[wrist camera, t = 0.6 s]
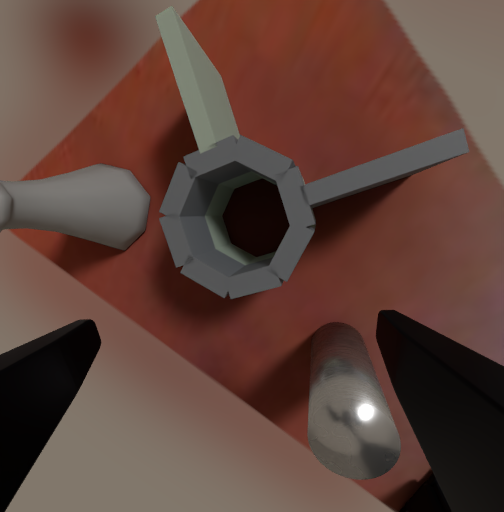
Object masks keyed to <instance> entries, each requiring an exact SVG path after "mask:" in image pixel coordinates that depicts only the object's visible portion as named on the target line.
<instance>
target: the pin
mask: <svg viewBox="0 0 504 512" xmlns="http://www.w3.org/2000/svg"><path fill="white" fill-rule="evenodd" d="M308 441H309V445H310V447H311V450H312V452H313V453H314V455H315V456H316V458H317V459H318V460H319V461H320V462H321V463H322V464H323V465H324V466H325V467H326V468H328V469H329V470H331V471H332V472H334V473H336V474H338V475H341V476H344V477H347V478H351V479H372V478H376V477H378V476H381V475H383V474H385V473H386V472H388V471H389V470H390V469H391V468H392V467H393V466H394V465H395V463H396V462H397V460H398V458H399V455H400V449H401V443H400V437H399V434H398V432H397V429H396V426H395V423H394V421H393V418H392V415H391V413H390V410H389V407H388V405H387V402H386V399H385V396H384V394H383V391H382V388H381V386H380V383H379V380H378V378H377V375H376V372H375V370H374V367H373V364H372V361H371V359H370V356H369V353H368V351H367V348H366V345H365V343H364V340H363V338H362V336H361V334H360V333H359V332H358V331H357V330H356V329H355V328H353V327H352V326H350V325H348V324H345V323H339V322H333V323H328V324H325V325H323V326H322V327H320V328H319V329H318V330H317V331H316V332H315V334H314V335H313V338H312V342H311V365H310V389H309V413H308Z"/></svg>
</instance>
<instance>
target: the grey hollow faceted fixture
mask: <svg viewBox="0 0 504 512" xmlns="http://www.w3.org/2000/svg"><path fill="white" fill-rule="evenodd" d="M214 144H216V145H215V146H217V147H215V146H214V145H213V146H214V148H213V146H212V148H210V150H208V149H207V150H208V151H205V152H204V151H203V153H201V154H200V151H199V150H198V151H195V152H193V153H191V154H188V155H186V156H184V160H185V163H186V165H185V164H182V163H180V162H178V165H177V167H176V170H175V172H174V175H173V177H172V180H171V183H170V185H169V188H168V190H167V193H166V195H165V198H164V201H163V203H162V206H161V208H160V211H159V212H161V213H163V214H164V215H166V216H164V217H162V218H159V220H160V223H161V225H162V228H163V231H164V234H165V237H166V240H167V243H168V246H169V248H170V251H171V254H172V257H173V260H174V263H175V266H176V268H177V267H180V266H183V265H184V266H183V268H182V270H181V273H182V274H183V275H185V276H187V277H188V278H190V279H192V280H194V281H195V282H197V283H199V284H201V285H202V286H204V287H206V288H207V289H209V290H211V291H213V292H214V293H216V294H218V295H220V296H221V297H223V298H225V297H226V296H227V295H228V294H229V295H230V298H231V299H234V298H237V297H241V296H245V295H249V294H253V293H257V292H260V291H264V290H268V289H272V288H276V287H280V286H281V285H282V283H283V281H284V280H285V281H286V282H287V281H288V279H289V277H290V275H291V273H292V272H293V270H294V268H295V266H296V264H297V262H298V261H299V259H300V257H301V255H302V253H303V252H304V250H305V248H306V246H307V244H308V243H309V241H310V239H311V237H312V235H313V234H314V232H315V228H314V227H312V226H310V225H314V224H315V223H316V221H315V218H314V215H313V212H312V208H314V207H317V206H320V205H323V204H326V203H329V202H332V201H335V200H338V199H341V198H344V197H347V196H350V195H353V194H356V193H359V192H362V191H365V190H368V189H371V188H374V187H377V186H380V185H383V184H387V183H390V182H393V181H396V180H399V179H402V178H405V177H408V176H411V175H413V174H416V173H418V172H421V171H423V170H426V169H428V168H431V167H433V166H436V165H438V164H440V163H443V162H445V161H448V160H450V159H453V158H455V157H458V156H460V155H463V154H465V153H467V152H469V149H468V145H467V141H466V137H465V133H464V129H463V128H462V129H460V130H457V131H454V132H451V133H448V134H446V135H443V136H440V137H437V138H434V139H432V140H429V141H426V142H423V143H420V144H418V145H415V146H412V147H409V148H406V149H404V150H401V151H398V152H395V153H392V154H390V155H387V156H384V157H381V158H378V159H376V160H373V161H370V162H367V163H364V164H362V165H359V166H356V167H353V168H350V169H348V170H345V171H342V172H339V173H336V174H334V175H331V176H328V177H325V178H322V179H320V180H317V181H314V182H311V183H308V184H306V185H304V182H303V178H302V175H301V173H300V170H299V168H298V166H297V167H296V166H295V164H294V162H293V160H292V159H290V158H288V157H285V156H283V155H281V154H279V153H277V152H275V151H273V150H271V149H269V148H267V147H265V146H263V145H260V144H258V143H256V142H254V141H252V140H250V139H248V138H246V137H244V136H242V135H240V137H239V140H238V139H237V138H236V137H235V136H234V135H232V136H229V137H227V138H225V139H223V140H220V141H218V142H216V143H214ZM205 148H206V147H205ZM251 171H252V172H254V173H256V174H258V175H260V176H262V177H264V178H266V179H268V180H270V181H272V182H274V183H276V184H277V186H278V189H279V192H280V195H281V199H282V202H283V205H284V208H285V211H286V215H287V218H288V221H289V224H290V227H289V229H288V230H287V232H286V234H285V236H284V238H283V240H282V242H281V244H280V246H279V248H278V249H277V251H276V253H275V255H274V257H272V258H269V259H265V260H262V261H258V262H255V263H252V264H248V265H244V264H242V263H240V262H238V261H236V260H235V259H233V258H231V257H229V256H227V255H226V254H224V253H222V252H220V251H218V250H217V249H215V246H214V243H213V240H212V237H211V234H210V231H209V228H208V225H207V222H206V219H205V214H206V212H207V210H208V207H209V205H210V203H211V201H212V198H213V196H214V194H215V191H216V189H217V187H218V184H220V183H223V182H225V181H228V180H230V179H233V178H235V177H238V176H241V175H243V174H246V173H248V172H251ZM311 207H312V208H311Z"/></svg>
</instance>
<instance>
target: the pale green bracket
mask: <svg viewBox="0 0 504 512" xmlns="http://www.w3.org/2000/svg"><path fill="white" fill-rule="evenodd" d="M155 18H156V21H157V24H158V27H159V30H160V33H161V36H162V39H163V42H164V45H165V48H166V51H167V54H168V57H169V60H170V63H171V66H172V69H173V72H174V75H175V78H176V81H177V85H178V88H179V91H180V94H181V97H182V100H183V103H184V106H185V109H186V112H187V115H188V118H189V121H190V124H191V127H192V130H193V133H194V136H195V139H196V142H197V145H198V148H199V151H200V154H201V153H203V151H204V152H205V151H208V150H210V148H212V146H213V145H214V146H215V145H216V144H214V143H216V142H218V141H220V140H223V139H225V138H227V137H229V136H232V135H234V136H235V137H236V138H237V139H238V140H239V137H240V135H239V132H238V128H237V125H236V122H235V119H234V116H233V113H232V109H231V106H230V103H229V100H228V97H227V94H226V90H225V87H224V84H223V81H222V78H221V76H220V74H219V73H218V71H217V70H216V68H215V67H214V65H213V64H212V63H211V61H210V60H209V58H208V57H207V55H206V54H205V52H204V51H203V50H202V48H201V47H200V45H199V44H198V42H197V41H196V40H195V38H194V37H193V35H192V34H191V32H190V31H189V29H188V28H187V27H186V25H185V24H184V22H183V21H182V19H181V18H180V17H179V15H178V14H177V12H176V11H175V9H174V8H173V7H172V6H171V7H169V8H168V9H166V10H164V11H163V12H161V13H160V14H158V15H156V16H155ZM214 146H213V148H214ZM205 147H206V148H205ZM215 147H217V146H215ZM207 149H208V150H207ZM262 178H263V179H265V180H267V181H269V182H271V183H273V184H275V185H277V184H276V183H274V182H272V181H270V180H268V179H266V178H264V177H262V176H260V175H258V174H256V173H254V172H252V171H251V172H248V173H246V174H243V175H241V176H238V177H235V178H233V179H230V180H228V181H225V182H223V183H220V184H218V187H217V189H216V191H215V194H214V196H213V198H212V201H211V203H210V205H209V207H208V210H207V212H206V214H205V219H206V222H207V225H208V228H209V231H210V234H211V237H212V240H213V243H214V246H215V249H217V250H218V251H220V252H222V253H224V254H226V255H227V256H229V257H231V258H233V259H235V260H236V261H238V262H240V263H242V264H244V265H248V264H252V263H255V262H258V261H262V260H265V259H269V258H272V257H274V255H275V253H276V252H272V253H269V254H266V255H262V256H259V257H255V256H253V255H252V254H250V253H248V252H246V251H244V250H242V249H240V248H239V247H237V246H235V245H233V244H231V241H230V238H229V235H228V232H227V229H226V226H225V223H224V220H223V217H222V215H223V213H224V211H225V209H226V206H227V204H228V202H229V200H230V198H231V195H232V193H233V191H234V189H235V188H238V187H241V186H243V185H246V184H249V183H251V182H254V181H256V180H259V179H262ZM303 182H304V180H303ZM304 185H305V183H304ZM311 208H312V207H311ZM312 212H313V210H312ZM313 215H314V213H313ZM314 218H315V216H314ZM315 221H316V220H315ZM310 226H312V227H314V228H315V225H310Z"/></svg>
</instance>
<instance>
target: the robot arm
mask: <svg viewBox="0 0 504 512" xmlns="http://www.w3.org/2000/svg"><path fill="white" fill-rule="evenodd" d="M376 339H377V343H378V346H379V348H380V351H381V354H382V357H383V360H384V363H385V366H386V369H387V371H388V374H389V377H390V380H391V383H392V385H393V388H394V391H395V393H396V395H397V397H398V399H399V402H400V404H401V406H402V408H403V410H404V412H405V414H406V416H407V418H408V420H409V423H410V425H411V427H412V429H413V431H414V433H415V435H416V437H417V439H418V441H419V444H420V446H421V448H422V450H423V452H424V454H425V456H426V458H427V460H428V462H429V465H430V467H431V469H432V471H433V474H432V475H431V477H430V478H429V479H428V480H427V481H426V482H425V483H424V484H423V486H422V487H421V488H420V489H419V490H418V491H417V492H416V493H415V495H414V496H413V497H412V498H411V499H410V500H409V501H408V502H407V504H406V505H405V506H404V507H403V508H402V509H401V510H400V511H399V512H504V366H502V365H500V364H498V363H496V362H494V361H492V360H490V359H489V358H487V357H485V356H483V355H481V354H479V353H477V352H475V351H473V350H471V349H469V348H467V347H465V346H463V345H461V344H459V343H457V342H456V341H454V340H452V339H450V338H448V337H446V336H444V335H442V334H440V333H438V332H436V331H434V330H432V329H430V328H428V327H426V326H424V325H423V324H421V323H419V322H417V321H415V320H413V319H411V318H409V317H407V316H405V315H403V314H401V313H399V312H397V311H395V310H381V311H380V312H379V313H378V320H377V329H376ZM100 346H101V339H100V336H99V333H98V330H97V327H96V324H95V322H94V321H93V320H91V319H89V320H78V321H75V322H73V323H71V324H68V325H66V326H64V327H62V328H59V329H57V330H55V331H53V332H50V333H48V334H46V335H44V336H41V337H39V338H37V339H35V340H32V341H30V342H28V343H26V344H23V345H21V346H19V347H17V348H14V349H12V350H10V351H8V352H5V353H3V354H1V355H0V512H5V511H6V509H7V507H8V506H9V504H10V502H11V501H12V499H13V498H14V496H15V494H16V492H17V491H18V489H19V488H20V486H21V484H22V483H23V481H24V480H25V478H26V476H27V475H28V473H29V471H30V470H31V468H32V466H33V465H34V463H35V462H36V460H37V458H38V457H39V455H40V453H41V452H42V450H43V448H44V447H45V445H46V443H47V442H48V440H49V439H50V437H51V435H52V434H53V432H54V430H55V429H56V427H57V426H58V424H59V422H60V421H61V419H62V417H63V415H64V414H65V412H66V411H67V409H68V407H69V406H70V404H71V403H72V401H73V399H74V398H75V396H76V394H77V392H78V391H79V389H80V387H81V385H82V383H83V381H84V379H85V377H86V375H87V373H88V371H89V369H90V367H91V365H92V363H93V361H94V359H95V357H96V355H97V353H98V351H99V349H100Z"/></svg>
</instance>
